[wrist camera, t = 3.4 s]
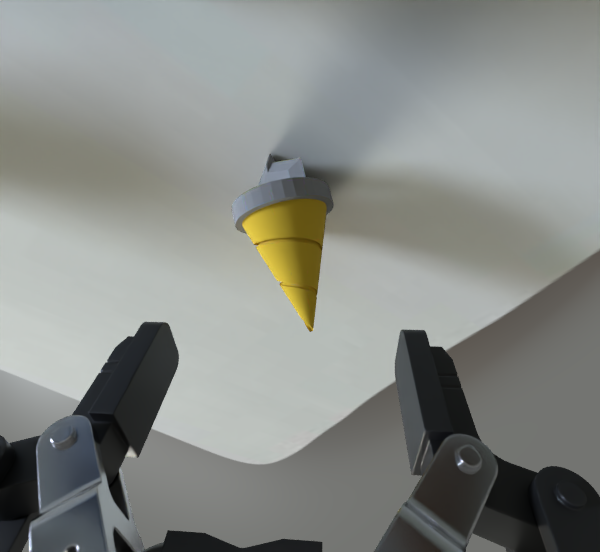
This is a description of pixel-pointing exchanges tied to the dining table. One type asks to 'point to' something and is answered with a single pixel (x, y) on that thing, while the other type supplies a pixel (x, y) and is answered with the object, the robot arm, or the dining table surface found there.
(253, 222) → the drill bit
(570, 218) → the dining table surface
